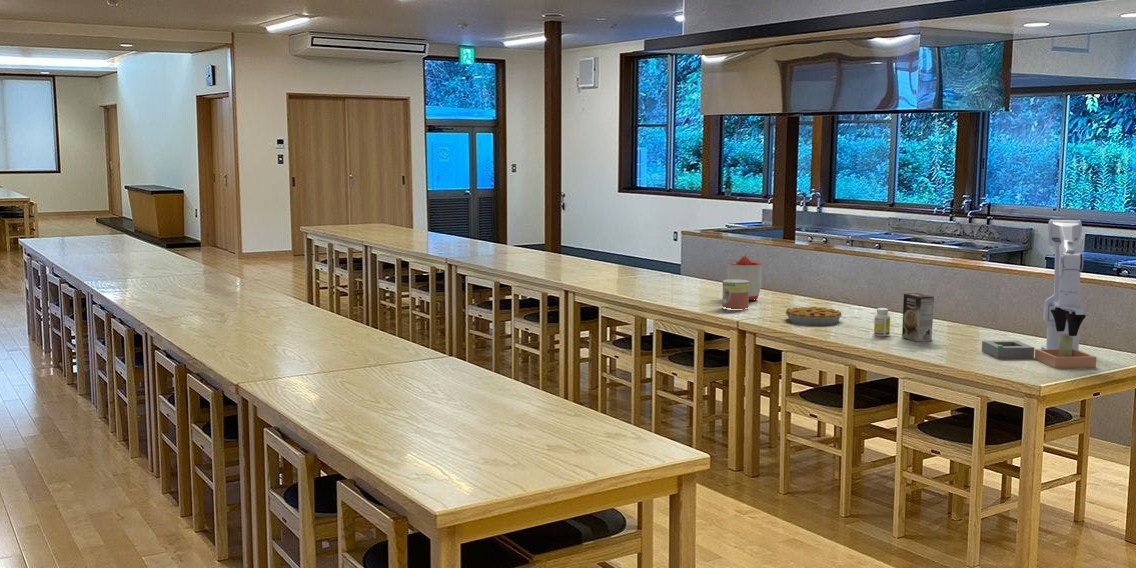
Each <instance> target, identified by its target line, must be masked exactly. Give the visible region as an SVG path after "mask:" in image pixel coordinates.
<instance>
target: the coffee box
mask: <svg viewBox="0 0 1136 568" xmlns="http://www.w3.org/2000/svg"><path fill="white" fill-rule="evenodd" d="M902 303H903V305H902V324H901V325H902V329H901V330H902V331H901V338H904V339H906V340H911V341H913V342H914V341H915V342H917V343H921V342H931V341H933V324H934V323H933V322H934V304H935V296H932V295H927V294H924V293H920V292H913V293H912V292H909V293H903V302H902Z"/></svg>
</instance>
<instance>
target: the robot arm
mask: <svg viewBox="0 0 1136 568" xmlns="http://www.w3.org/2000/svg"><path fill="white" fill-rule="evenodd" d="M1082 229H1083V227H1082V221H1081V220H1080V219H1077V220H1076V219H1075V220H1072V219H1051V218H1050V219H1049V221H1048V224H1047V243H1048V245H1050V246H1051V247H1053V251H1054V279H1053V283H1054V284H1053V295H1051V296H1049V297H1048V298H1046V299H1045V301H1044V305H1043V312H1042V313H1043V314H1042V316H1043V317H1042V318H1043V321H1044V323H1046V324H1047V329H1046V345H1042V346H1040V349H1058V346H1059V335H1064V334H1069V336H1073V347H1072V349H1077V350H1080V349H1079V347H1080V345H1079V344H1080V327H1081V325H1082V323H1083V321H1084V320H1085V319H1086V317H1087V315H1086V314H1084V308H1082V307H1081V305H1079V300H1080V290H1081V289H1080V286H1081V272H1082V271H1083V269H1084V256H1083V255H1084V253H1082V252H1080V247H1079V246H1080V245H1079V243H1080V239H1081V236H1082Z"/></svg>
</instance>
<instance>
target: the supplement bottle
mask: <svg viewBox="0 0 1136 568" xmlns="http://www.w3.org/2000/svg"><path fill="white" fill-rule="evenodd" d="M890 324H891V316H890V315H889V309H888V308H885V307H878V308H876V314H875V315H874V324H873V325H874V327H873V328H874V330H873V333H874V336H877V337H889V336H890V333H891V331H890V330H891V325H890Z"/></svg>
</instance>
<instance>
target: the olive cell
mask: <svg viewBox="0 0 1136 568" xmlns="http://www.w3.org/2000/svg"><path fill="white" fill-rule="evenodd" d="M1072 347H1073V336H1069V334H1064V335H1059V346H1058V357H1072Z"/></svg>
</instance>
